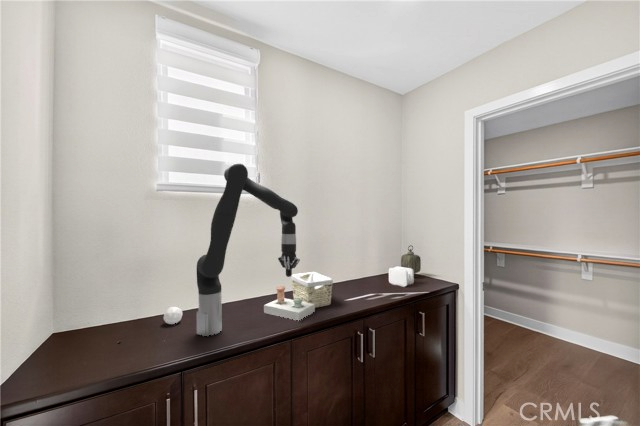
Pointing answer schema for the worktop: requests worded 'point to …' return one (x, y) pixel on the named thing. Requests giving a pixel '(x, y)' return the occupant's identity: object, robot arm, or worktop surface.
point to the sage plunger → (298, 303)
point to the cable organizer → (401, 276)
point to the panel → (289, 309)
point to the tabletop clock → (411, 261)
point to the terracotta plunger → (280, 293)
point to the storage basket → (312, 288)
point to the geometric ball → (173, 315)
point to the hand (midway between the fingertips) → (288, 276)
